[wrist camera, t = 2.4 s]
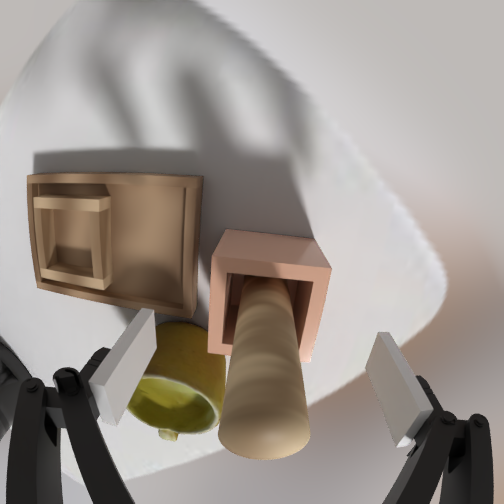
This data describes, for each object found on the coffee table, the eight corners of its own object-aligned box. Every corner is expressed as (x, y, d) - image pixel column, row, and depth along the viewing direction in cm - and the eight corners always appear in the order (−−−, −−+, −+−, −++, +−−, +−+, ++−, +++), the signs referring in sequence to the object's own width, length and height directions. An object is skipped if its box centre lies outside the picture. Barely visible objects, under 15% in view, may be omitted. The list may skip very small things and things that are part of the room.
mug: (135, 293, 25) (122, 392, 17) (238, 317, 29) (255, 408, 21) (119, 362, 31) (113, 438, 23) (199, 377, 35) (206, 449, 27)
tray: (48, 280, 27) (32, 291, 24) (40, 173, 24) (20, 176, 21) (196, 306, 27) (189, 324, 24) (203, 176, 24) (194, 178, 20)
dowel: (242, 296, 26) (217, 455, 10) (246, 257, 24) (219, 405, 9) (283, 300, 26) (299, 460, 10) (289, 261, 24) (320, 412, 9)
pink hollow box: (220, 307, 27) (207, 352, 20) (226, 228, 25) (211, 255, 18) (300, 315, 27) (309, 362, 20) (314, 238, 25) (331, 268, 18)
